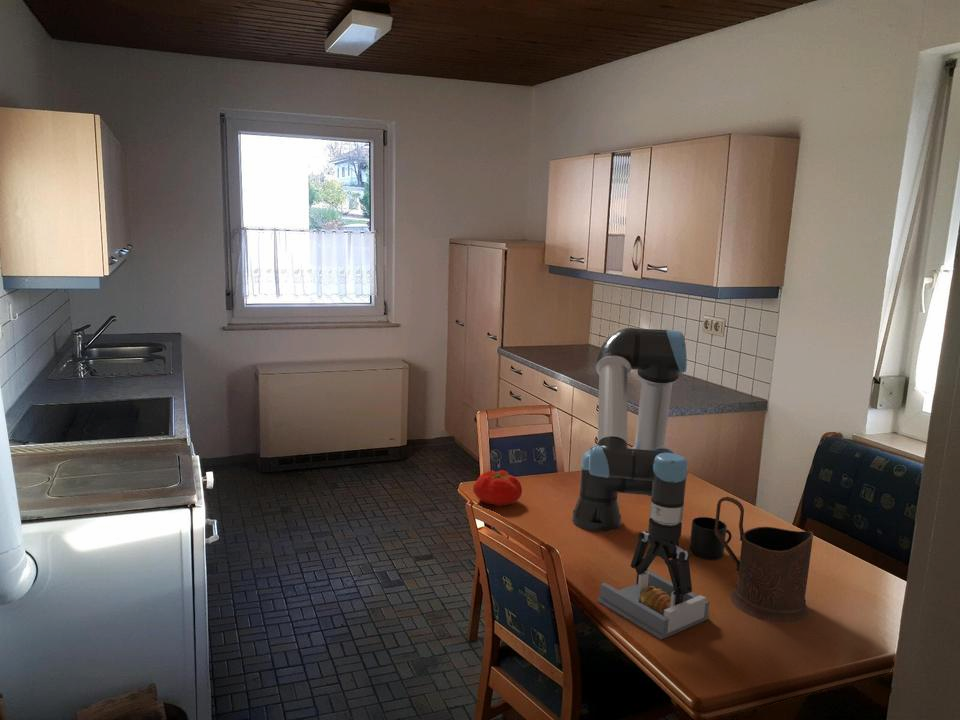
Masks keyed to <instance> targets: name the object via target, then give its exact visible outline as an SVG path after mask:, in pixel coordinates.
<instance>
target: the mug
mask: <svg viewBox="0 0 960 720" xmlns="http://www.w3.org/2000/svg"><path fill="white" fill-rule="evenodd" d="M715 521H716V518H714V517H708V516H701V517H700V516H699V517H695V518H693V519H692V522H691V530H690V540H689V551H690V554H692V555H693V556H695V557H697V558H700V559H703V560H709V561H710V560H711V561H714V560H716V561H717V560H721V559H722V558H723V557H724V554H725V548H724V546H723V545H722V543H721V542H720V541H719V539H718V538H717V537H716V535H715ZM727 528H728V527H727V524H726V523H725V522H724V521H722V520H721V519H719V525H718V531H719V533H720V535H721V536H722V537H723V539H724V540H725V542H726V543H727V544H729V543H730V542H731V540H732V533H731V531H730V530H729V529H727ZM726 535H728V538H727V537H726ZM726 538H727V540H726Z"/></svg>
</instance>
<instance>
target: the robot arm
mask: <svg viewBox="0 0 960 720" xmlns="http://www.w3.org/2000/svg"><path fill="white" fill-rule="evenodd" d="M686 344H687V343H686V338H685V335H684V333H683V332H681V331H679V330H671V329H656V328H655V329H654V328H635V327H626V328H622V329H619V330H618V331H615V332H613V333H612V334H611V335H610V336H608V338H607V339H606V340H604V342H603V343H602V344H601V347H600V348H599V349H598V352H597V355H596V360H595V361H596V362H595V371H596V373H597V374H598V377H599V381H598V410H597V411H598V414H597V445H591V447H590V448H589V449H588V450H586V451H585V452H584V454H583V455H582V460H581V465H580V469H581V472H580V481H579V482H580V483H579V484H580V485H579V497H578V499H577V501H576V505H575V507H574V510H573V511H572V517H571V519H572V522H573V524H574V525H576V526H577V527H579V528H581V529H585V530H587V531H593V532H599V533H600V532H604V533H605V532H612V531H616V530H618V529H620V527H621V526H622V515H621V513H620V507H619V503H618V494H620V493H622V494H629V495H630V494H631V495H641V496H643V495H644V496H649V497H651V498H650V508H649V509H650V510H649V516H650V517H649V520H648V530H644V531H642V532H639V533H638V534H637V544H636V548H635V550H634V553H633V557H632V559H631V562H630V567H631V568H632V569H634V570H635V572H636V583H635V584H637V585H638V592H637V600H639V601H640V599H639V597H640V595H641V593H642V591H643V590H644V589H645V588H646V587H648V577H649V573H647V572H645V571H647V570H649V569H648V568H649V567H650V566H651V565H652V562H653V561H654V560H655V558H656V557H659V558H661V559H662V560H663V561H664V565H666V567H667V569H668V573H669V576H670V580H671V582H672V584H673V587H674V591H673V592H672V593H671V604H670V607H673V606H675V605H677V604H680V603H682V602H683V598H684V595H685V594H688V593H690V592H691V593H693V586H692V577H691V575H692V574H691V567H690V555H691V552H690V549H689V550H688V549H687V550H684V549H683V548H681V546H680V539H681V537H682V529H683V524H682V521H683V519H684V510H685V509H684V507H685V494H686V486H687V485H686V484H687V476H688V473H689V471H688V459H687V458H686V457H685V456H682V455H680V454H678V453H675V452H674V451H673V450H672V449H670V448H668V447H666V446H665V442H666V433H667V428H668V418H669V414H670V413H669V411H670V404H671V397H672V391H673V390H672V389H673V384H674V383H676V382H677V381H678V380H679V377H680V374H684V373H686V371H687V363H688V362H687V360H688V359H687V346H686ZM632 370H637V371H636V372H637V375H638V377H639V378H640V379H641V385H640V394H639V404H638V412H637V413H638V414H637V421H636V431H635V442H634V446H632V447H631V448H628V440H629V439H628V376H629V374H630V373H631V371H632ZM648 544H649V545H650V546H649V548H648ZM647 548H648V549H647ZM645 553H646V554H645ZM679 587H680V588H679Z"/></svg>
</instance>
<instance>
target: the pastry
mask: <svg viewBox="0 0 960 720" xmlns="http://www.w3.org/2000/svg"><path fill="white" fill-rule="evenodd" d="M639 599H640V601H641V602H642V604H643V605H645V606H647V607H649V608H650V609H652V610H654V611H656V612H657V613H659V614H663V615H664V610H665V609H668V608H670V604H671V596H669V595H668V594H667V592H664V591H663V590H662V589H656V588H655V587H654V586H648V587H646V588H645V589H644V590H643V591H642V593H641V595H640V597H639Z"/></svg>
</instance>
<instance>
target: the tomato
mask: <svg viewBox="0 0 960 720" xmlns="http://www.w3.org/2000/svg"><path fill="white" fill-rule="evenodd" d="M472 489H473V490H472V491H473V493H474V494H475V496H476V497H477V498H478V499H479V500H480V501H482V502H483V503H485V504H487V505H494V506H497V507H502V506H503V507H504V506H507V505H511V504H513V503H515V502H517V501H518V500H519V499H520V498H521V496H522V493H523V488H522V484H521V482H520V481H519V480H518V478H517V477H516V476H515V475H514V476H513V475H511V474H510V473H509V472H507V471H506V470H502V469H500V470H498V471H494V470H487V471H485V472H483V473H482V474H481V475H479V477H478V478H477V480H476V481H475V482H474V484H473V487H472Z"/></svg>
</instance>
